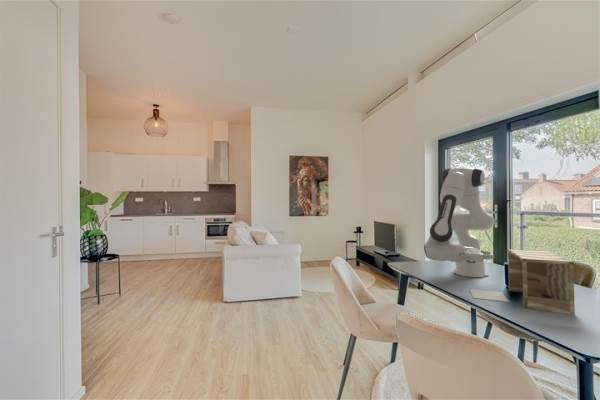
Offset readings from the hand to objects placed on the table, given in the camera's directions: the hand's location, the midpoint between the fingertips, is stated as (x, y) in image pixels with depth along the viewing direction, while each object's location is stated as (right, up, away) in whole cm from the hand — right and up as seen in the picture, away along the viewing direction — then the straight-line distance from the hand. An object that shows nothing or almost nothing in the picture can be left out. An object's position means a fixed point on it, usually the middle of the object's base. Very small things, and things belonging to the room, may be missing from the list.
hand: (491, 255), depth 134 cm
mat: (-1, -20, +1) cm, 20 cm away
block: (+14, -20, -7) cm, 25 cm away
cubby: (+16, -20, -8) cm, 26 cm away
